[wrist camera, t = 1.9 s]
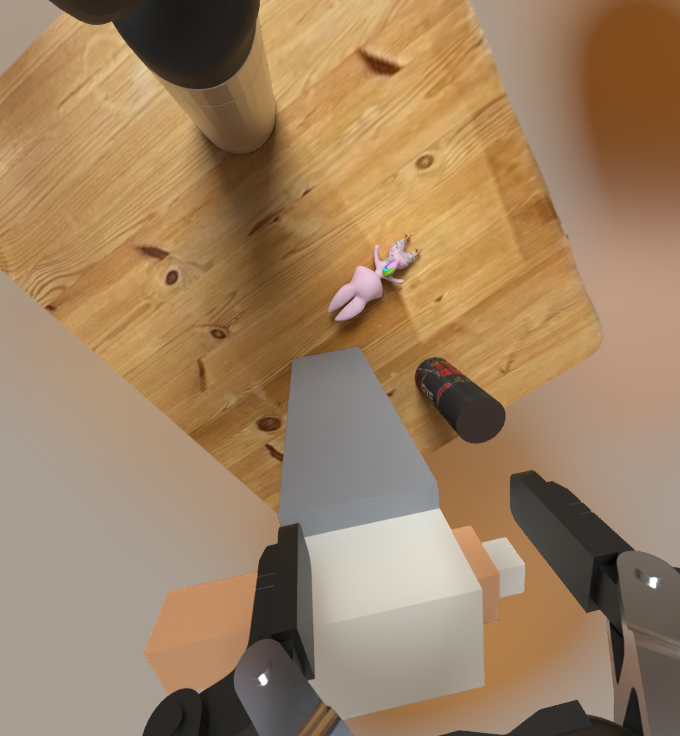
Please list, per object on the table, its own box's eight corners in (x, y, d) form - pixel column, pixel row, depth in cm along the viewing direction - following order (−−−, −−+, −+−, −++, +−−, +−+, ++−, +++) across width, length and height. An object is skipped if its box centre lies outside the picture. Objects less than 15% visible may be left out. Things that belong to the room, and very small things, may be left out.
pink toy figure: (395, 225, 46) (314, 297, 46) (414, 216, 40) (322, 299, 40) (420, 261, 48) (343, 331, 48) (441, 258, 42) (354, 337, 42)
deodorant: (457, 380, 53) (512, 426, 39) (424, 398, 54) (468, 451, 40) (442, 350, 51) (494, 388, 37) (408, 370, 52) (447, 415, 38)
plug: (168, 591, 21) (143, 653, 18) (499, 519, 22) (533, 566, 19) (188, 631, 23) (168, 696, 19) (499, 562, 24) (531, 613, 20)
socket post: (292, 358, 49) (269, 606, 15) (358, 346, 50) (481, 559, 16) (308, 428, 53) (318, 746, 19) (369, 416, 54) (484, 706, 20)
